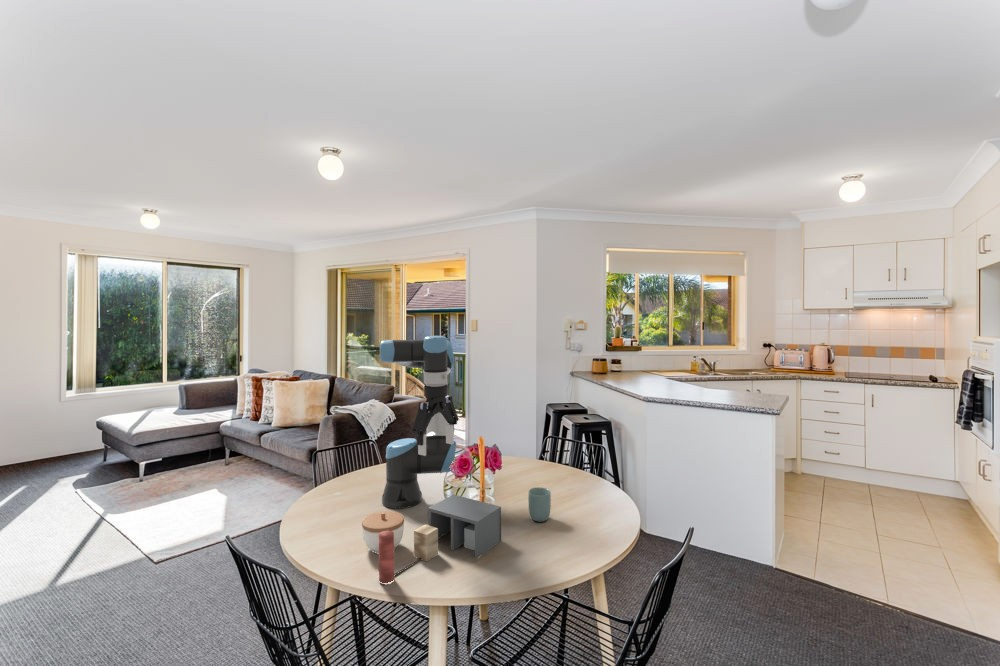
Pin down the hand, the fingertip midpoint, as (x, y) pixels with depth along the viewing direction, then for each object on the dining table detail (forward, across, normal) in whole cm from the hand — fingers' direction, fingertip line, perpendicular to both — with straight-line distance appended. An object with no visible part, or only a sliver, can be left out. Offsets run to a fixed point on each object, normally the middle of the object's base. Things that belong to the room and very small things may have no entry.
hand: (436, 449), depth 157 cm
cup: (+29, +28, -23) cm, 46 cm away
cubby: (+28, 0, -11) cm, 30 cm away
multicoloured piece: (+28, -21, -7) cm, 35 cm away
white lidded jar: (+28, -17, +7) cm, 34 cm away
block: (+28, 0, -16) cm, 32 cm away
